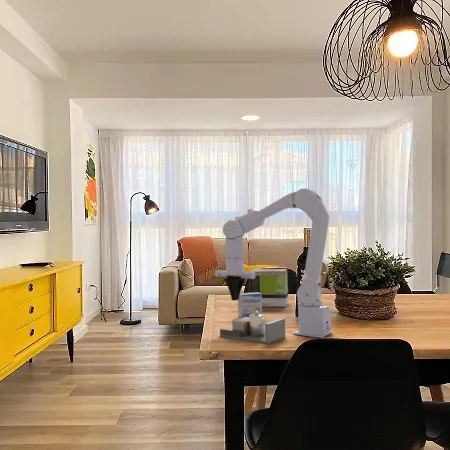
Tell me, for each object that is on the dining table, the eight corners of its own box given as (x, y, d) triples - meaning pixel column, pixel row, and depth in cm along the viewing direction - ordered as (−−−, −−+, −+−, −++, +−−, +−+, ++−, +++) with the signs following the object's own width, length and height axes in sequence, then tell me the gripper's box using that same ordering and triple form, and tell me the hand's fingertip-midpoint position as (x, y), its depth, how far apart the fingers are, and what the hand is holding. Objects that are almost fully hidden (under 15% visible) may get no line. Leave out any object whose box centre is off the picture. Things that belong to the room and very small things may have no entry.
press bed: (285, 337, 137) (285, 318, 137) (269, 344, 130) (269, 324, 130) (236, 330, 148) (236, 312, 148) (219, 336, 140) (219, 317, 140)
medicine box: (241, 318, 166) (241, 294, 166) (238, 316, 170) (237, 292, 170) (262, 317, 168) (262, 293, 168) (258, 315, 172) (257, 291, 172)
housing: (265, 333, 140) (265, 310, 140) (263, 337, 135) (263, 313, 135) (250, 333, 141) (250, 310, 141) (248, 337, 136) (248, 313, 136)
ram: (256, 331, 142) (256, 318, 142) (243, 335, 136) (243, 322, 136) (245, 329, 144) (245, 316, 144) (232, 334, 139) (232, 320, 139)
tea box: (288, 303, 196) (287, 268, 196) (285, 307, 187) (285, 270, 187) (253, 302, 200) (253, 268, 200) (249, 306, 190) (248, 270, 190)
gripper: (260, 257, 149) (260, 299, 149) (223, 256, 157) (224, 296, 157) (247, 259, 143) (248, 303, 143) (211, 257, 152) (211, 299, 152)
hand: (235, 299), depth 150 cm, fingers closed
